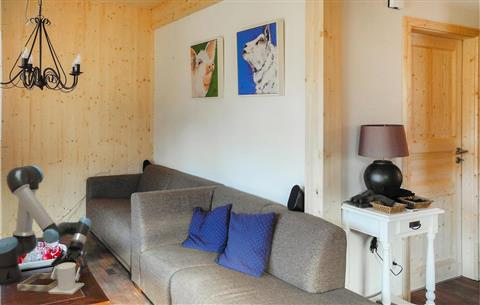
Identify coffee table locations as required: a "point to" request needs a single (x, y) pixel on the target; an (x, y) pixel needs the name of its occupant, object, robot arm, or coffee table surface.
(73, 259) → the controller
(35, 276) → the birch frame
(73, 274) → the candle holder
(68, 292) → the coaster
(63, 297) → the coffee table surface
